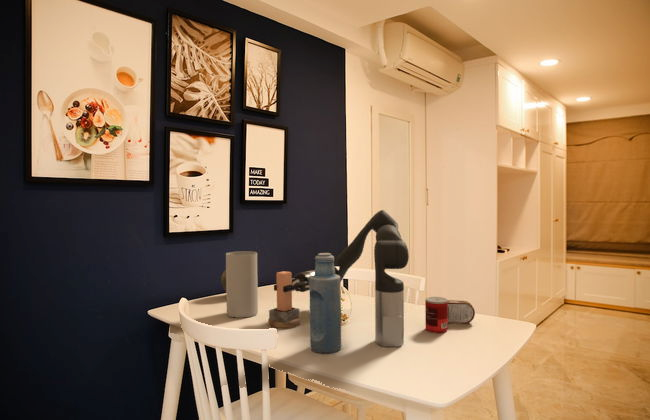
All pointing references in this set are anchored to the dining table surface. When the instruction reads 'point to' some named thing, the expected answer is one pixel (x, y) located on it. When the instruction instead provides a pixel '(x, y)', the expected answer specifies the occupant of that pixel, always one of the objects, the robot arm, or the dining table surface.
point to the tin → (460, 312)
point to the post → (284, 297)
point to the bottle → (325, 306)
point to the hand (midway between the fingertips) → (279, 288)
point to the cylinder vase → (241, 284)
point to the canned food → (436, 314)
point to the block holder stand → (284, 318)
